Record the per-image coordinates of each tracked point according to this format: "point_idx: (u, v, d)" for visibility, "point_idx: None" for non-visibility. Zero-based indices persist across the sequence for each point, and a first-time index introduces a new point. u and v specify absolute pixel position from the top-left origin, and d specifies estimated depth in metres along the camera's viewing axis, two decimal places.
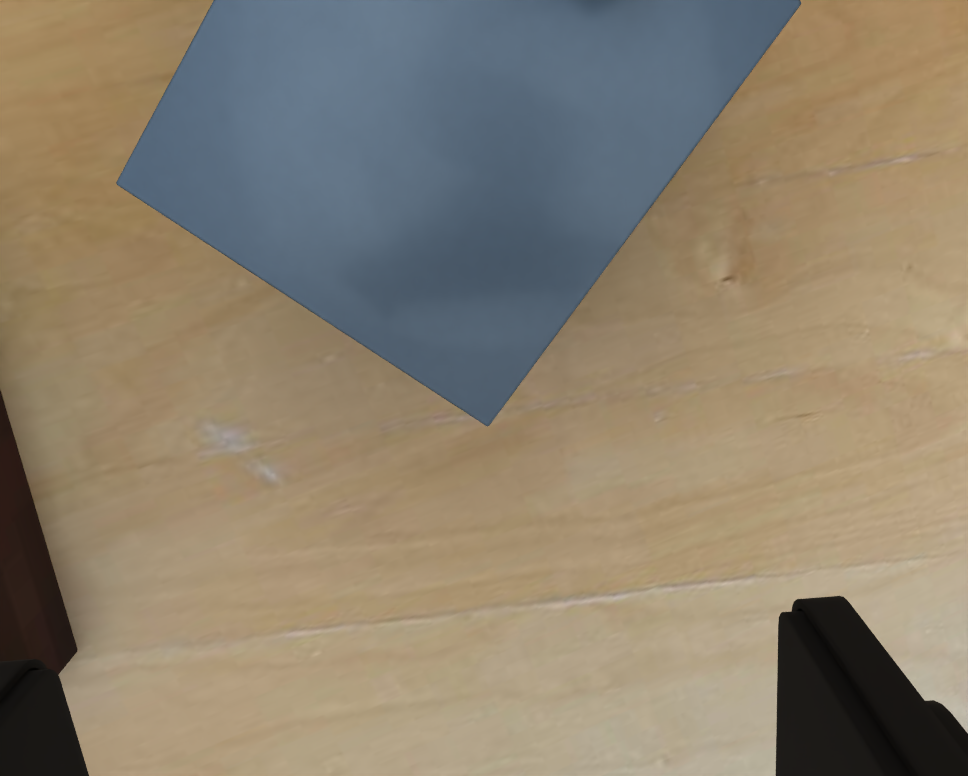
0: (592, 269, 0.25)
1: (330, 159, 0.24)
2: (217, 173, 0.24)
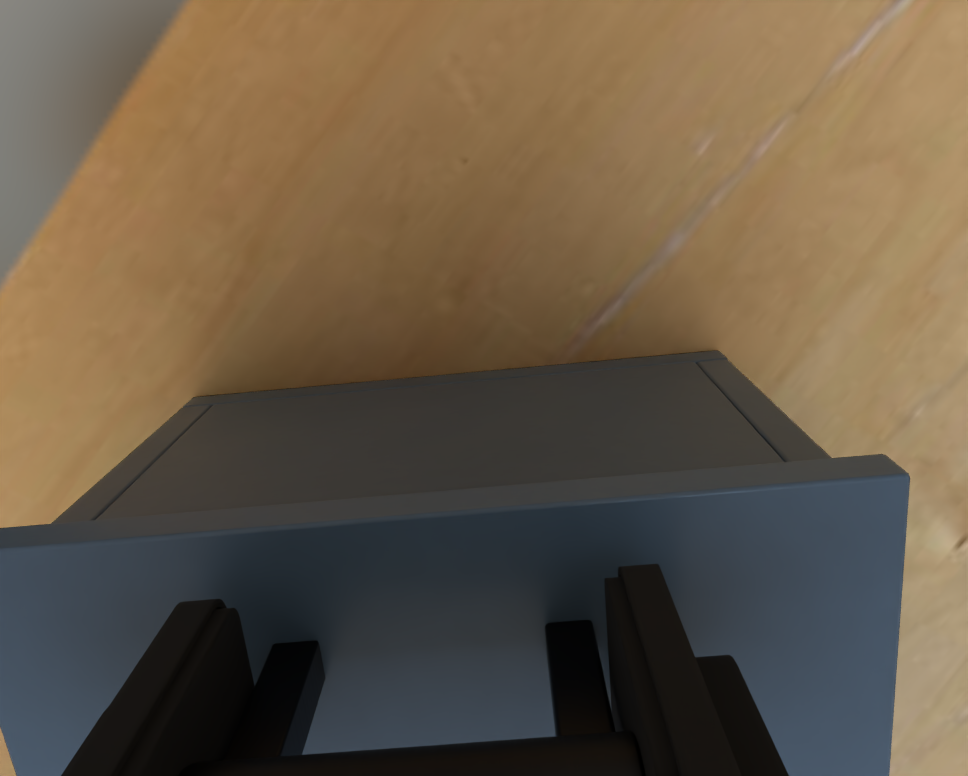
0: None
1: None
2: None
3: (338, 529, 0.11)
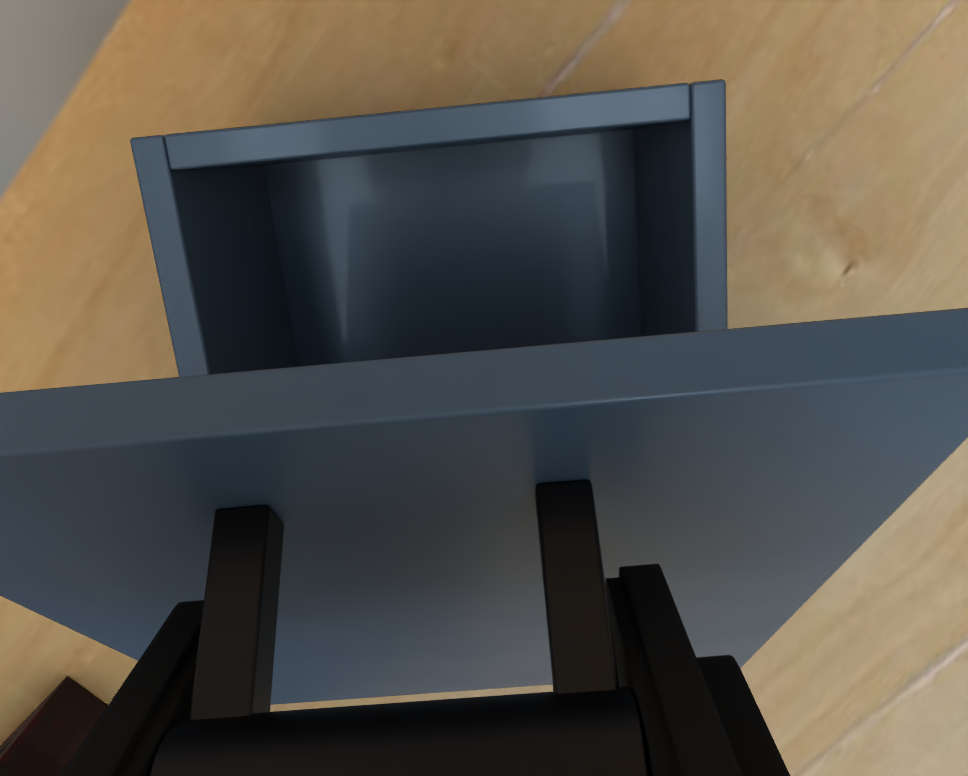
0: (782, 610, 0.16)
1: (387, 661, 0.18)
2: (301, 687, 0.20)
3: (269, 436, 0.08)
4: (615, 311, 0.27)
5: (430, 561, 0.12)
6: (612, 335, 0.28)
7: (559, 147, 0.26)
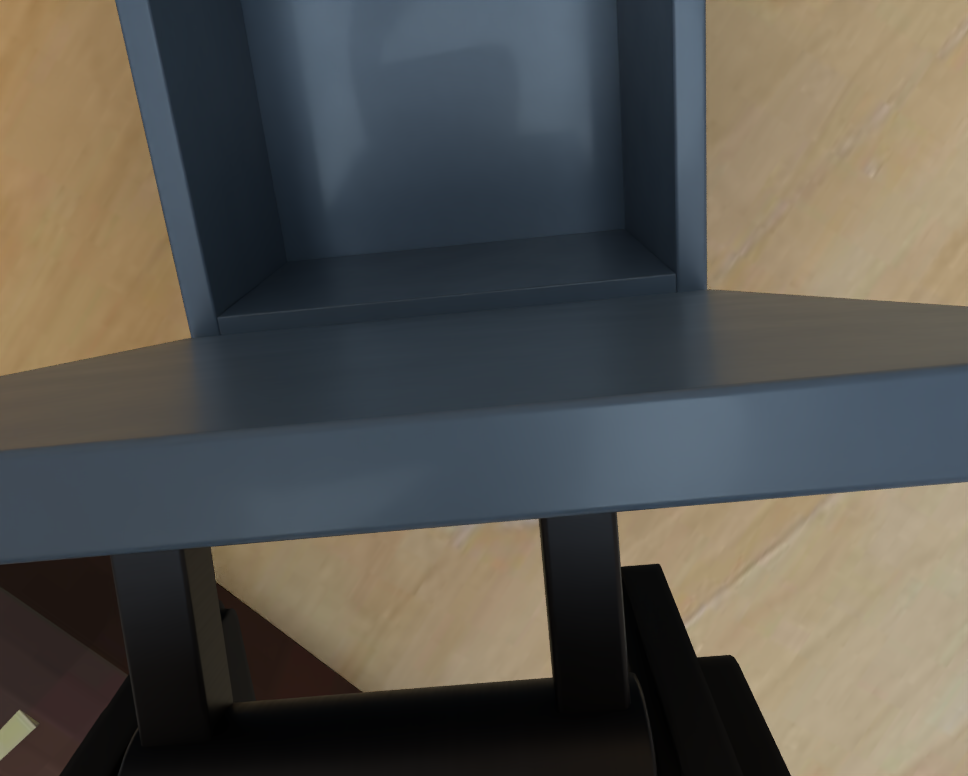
0: None
1: None
2: None
3: None
4: (591, 9, 0.26)
5: None
6: (587, 38, 0.26)
7: None
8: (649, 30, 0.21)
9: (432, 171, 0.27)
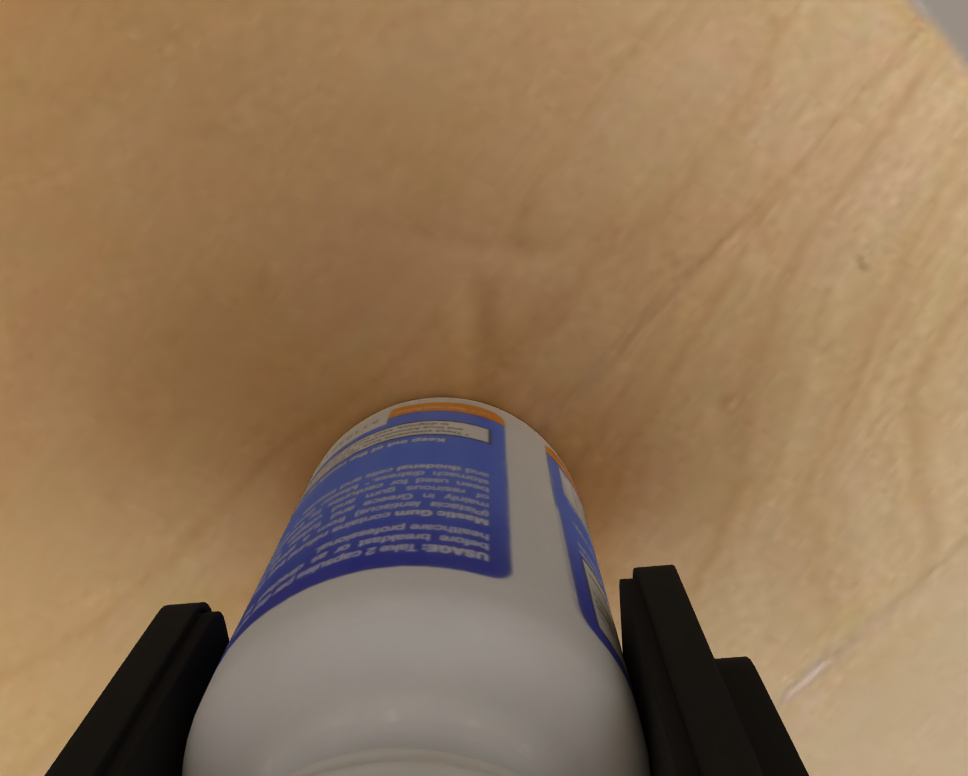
0: None
1: None
2: None
3: None
4: None
5: None
6: None
7: None
8: None
9: None
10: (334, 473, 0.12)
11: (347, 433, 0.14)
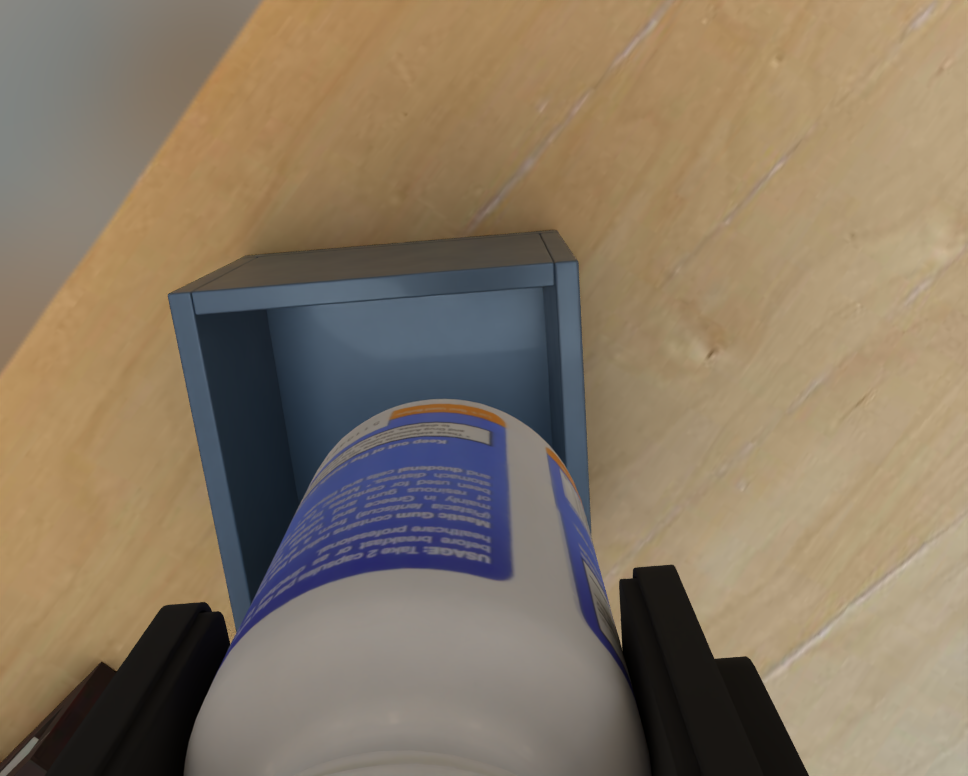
0: None
1: None
2: None
3: None
4: (530, 386, 0.36)
5: None
6: (528, 404, 0.36)
7: None
8: (560, 454, 0.31)
9: None
10: (335, 475, 0.12)
11: (348, 435, 0.15)
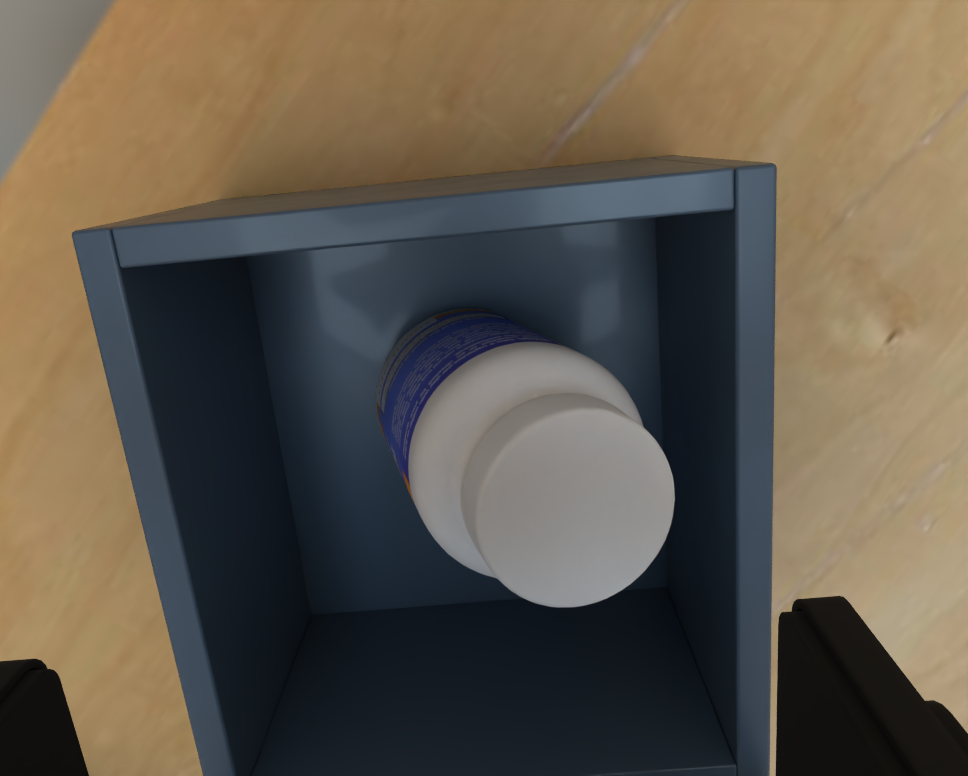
0: None
1: None
2: None
3: None
4: (633, 385, 0.25)
5: None
6: None
7: None
8: (704, 489, 0.20)
9: None
10: (422, 343, 0.21)
11: (405, 336, 0.23)
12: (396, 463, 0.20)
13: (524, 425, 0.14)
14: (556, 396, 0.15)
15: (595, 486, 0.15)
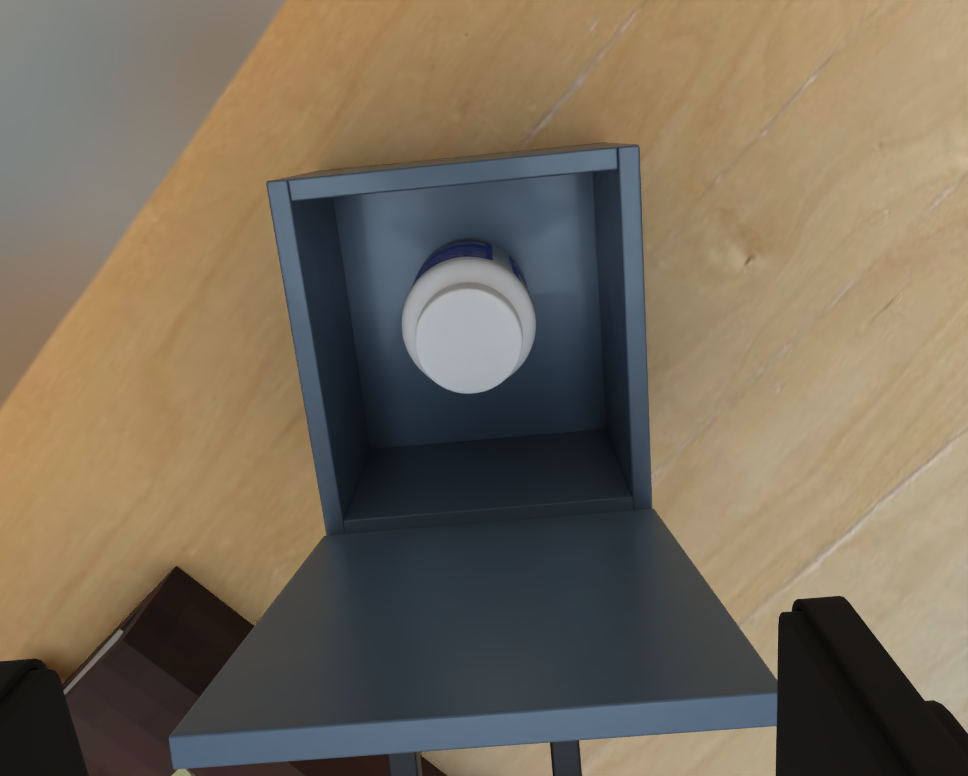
0: None
1: None
2: None
3: (426, 749, 0.18)
4: (581, 291, 0.38)
5: None
6: (579, 308, 0.39)
7: None
8: (616, 340, 0.34)
9: None
10: (431, 257, 0.35)
11: (431, 254, 0.37)
12: None
13: (439, 295, 0.29)
14: (463, 283, 0.29)
15: (475, 329, 0.29)
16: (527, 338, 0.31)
